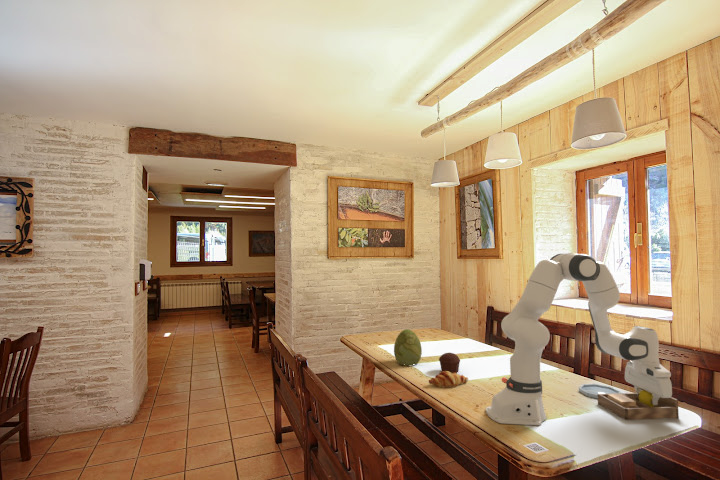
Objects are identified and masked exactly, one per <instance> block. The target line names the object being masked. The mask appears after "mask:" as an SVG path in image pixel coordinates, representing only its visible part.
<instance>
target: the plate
mask: <svg viewBox="0 0 720 480" xmlns="http://www.w3.org/2000/svg"><path fill="white" fill-rule="evenodd" d="M578 392H579V393H581V394H582V395H583V396H586V397H588V398H592V399H597V400H598V394H613V393H622V391H621V390H618V389H617V388H614V387H613V386H609V385H604V384H598V383H583V384H582V383H581V385H580V386H578Z"/></svg>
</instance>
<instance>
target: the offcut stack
mask: <svg viewBox="0 0 720 480" xmlns="http://www.w3.org/2000/svg"><path fill="white" fill-rule="evenodd" d="M608 399H610V400H612V401H614V402H616V403H618V404H619V405H621V406H623V407H625V408H639V406H637V405H636V401H634V400H632V399H630V398H628V397H626V396H624V395H622V394H608Z"/></svg>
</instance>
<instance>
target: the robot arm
mask: <svg viewBox="0 0 720 480" xmlns="http://www.w3.org/2000/svg"><path fill="white" fill-rule="evenodd" d="M563 280H567V281H573V282H575V281H577V282H582V285H583V288H584V289H585V292H586V294H587V299H588V303H587V305H588V311H589V314H590V315H589V316H590V319H591V322H592V325H593V326H592V327H593V328H594V335H595V346H596V348H597V349H598V350H599V351H600V352H601V353H602V354H606V355H609V356H614V357H616V358H618V359H623V360H625V361H627V362H626V366H625V367H624V368H625V369H624V380H625V382H626V383H628V384H631V385H633V386H634V390H635V393H637V397H639V393H640V392H641V391H642V390H646V391H648V392H650V393H652V396H653V399H650V401H651V404H653V405H658V400H659V398H660V397H661V398H670V397H673V386H672V385H673V384H672V381H671V379H670V378H671V376H672V373H671V371H670V370H668V369H667V368H666V367H664V366H663V364H661V362H660V357H659V352H660V344H659V342H660V341H659V336H658V333H657V331H656V330H655V329H653V328H650V327H645V326H640V325H634V326H633V328H632V329H630V330H629V331H628V332H626V333H623V334H621V333H618V332H616V331H615V330H614V329H613V328H612V327H611V323H610V319H609V316H608V310H609V309H612V308H613V307H615V306H616V305H618V303H619V302H620V300H621V294H620V289H619V288H618V286H617V285H618V284H617V283H616V281H615V278H614V277H613V274H612V273H611V271H610V269H609V268H608V267H607V265H606V264H605V263H604V262H601V261H597V260H596V259H595V258H594V257H592V256H590V255H588V254H586V253H576V252H575V253H574V252H567V253H557V254H555V255H553V256H552V257H550V259H542V260H541V261H539V262H538V263H537V264H536V266H534V269H533V271H532V272H531V274H530V276H529V278H528V281H527V283H526V285H525V288H524V290H523V291H522V292H523V293H522V295H521V297H520V298H519V300H518V302H517V303H516V305H515V306H514V308H513V309H512V310H511V311H510V312H509V313H508V314H507V315H505V316H504V317H503V319H502V320H501V323H500V325H501V326H500V327H501V330H502V332H503V333H504V334H505V336H506V337H507V338H508V339H510V340H512V341H514V344H515V346H514V351H513V354H511V356H510V359H509V366H510V367H509V369H510V371H509V372H510V376H509V378H507V377H505V376H503V377H502V378H501V382H502V383H504V384H505V385H506V386H505V387H504V388H502V390H500V391H499V392H497V393H495V394H494V395H493V396H492V399H491V406H490V405H489V406H486V407H485V413H486V415H487V416H488V417H489V418H491V420H493V421H494V422H496V423H499V424H507V425H508V424H510V425H523V426H524V425H525V426H541V425H542V423H543V422H544V421H546V420H547V415H546V412H545V407H544V403H543V396H542V395H543V381H542V379H541V359H542V353H543V351H544V348H545V347H547V345H548V344H549V341H550V340H551V339H550V338H551V334H550V331H549V329H548V327H547V326H545V324H543V323H542V322H540V321H539V319H540V318H541V317H542V316H543V315H544V314H545V313H546V312H548V311H549V309H550V308H551V306H552V304H553V301H554V299H555V297H556V294H557V291H558V289H559V286H560V284H561V282H562V281H563Z"/></svg>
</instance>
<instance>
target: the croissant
mask: <svg viewBox="0 0 720 480" xmlns="http://www.w3.org/2000/svg"><path fill="white" fill-rule="evenodd" d="M468 381H469V377H467V376H465V375H463V374H461V375H460V374H459V373H451V372H449V371H441V372H439V373H438V374H436V375H435V377H432V378H430V379H428V383H429V384H430V385H432V386H435V387H438V386H444V387H443V388H450V387H449V386H454V387H458V386H460V385H459V384H461V385H462V384H466V383H467V382H468Z"/></svg>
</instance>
